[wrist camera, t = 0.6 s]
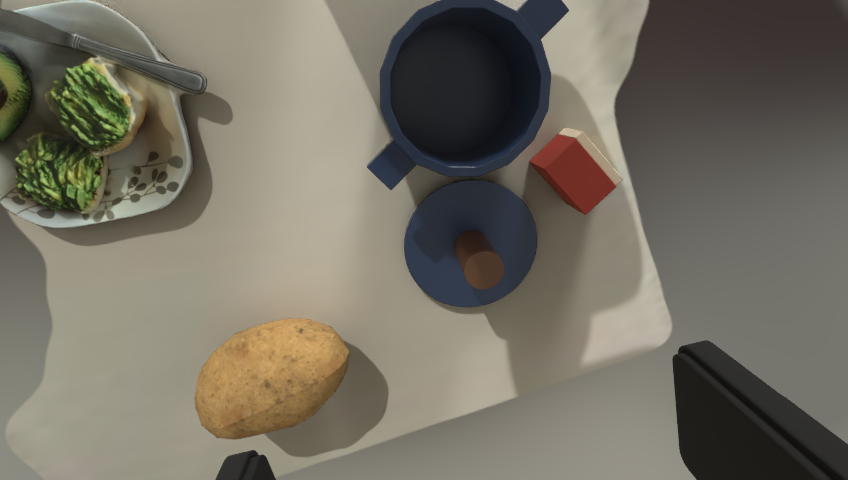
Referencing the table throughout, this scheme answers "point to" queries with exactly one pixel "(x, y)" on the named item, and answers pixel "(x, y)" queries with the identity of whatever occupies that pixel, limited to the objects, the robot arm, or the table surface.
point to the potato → (269, 378)
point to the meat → (576, 170)
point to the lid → (470, 243)
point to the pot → (464, 87)
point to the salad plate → (88, 117)
